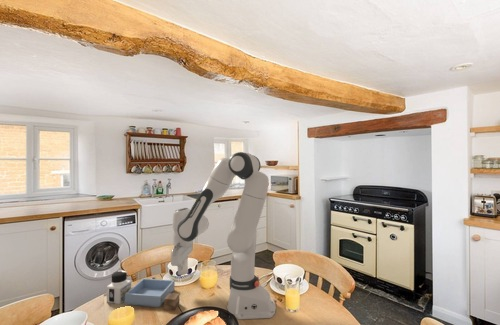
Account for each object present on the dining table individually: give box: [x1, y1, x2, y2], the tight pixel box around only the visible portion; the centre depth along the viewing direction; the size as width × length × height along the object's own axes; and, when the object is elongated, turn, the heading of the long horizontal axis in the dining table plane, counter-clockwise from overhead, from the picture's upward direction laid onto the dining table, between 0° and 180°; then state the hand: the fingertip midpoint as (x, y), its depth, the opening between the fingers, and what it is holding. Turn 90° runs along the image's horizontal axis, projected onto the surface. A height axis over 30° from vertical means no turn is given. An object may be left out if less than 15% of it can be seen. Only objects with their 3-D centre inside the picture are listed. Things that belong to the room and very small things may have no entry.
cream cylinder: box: [177, 257, 189, 276], centre depth 123 cm, size 5×5×7 cm
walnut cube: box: [163, 292, 180, 311], centre depth 112 cm, size 5×5×5 cm
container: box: [106, 270, 132, 305], centre depth 119 cm, size 8×8×13 cm
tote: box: [124, 278, 176, 308], centre depth 121 cm, size 18×16×5 cm
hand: (182, 267), depth 123 cm, fingers closed on cream cylinder, 5 cm apart
